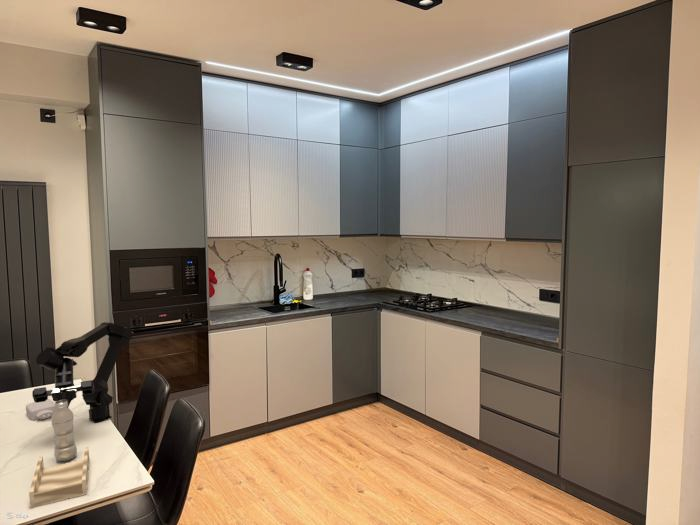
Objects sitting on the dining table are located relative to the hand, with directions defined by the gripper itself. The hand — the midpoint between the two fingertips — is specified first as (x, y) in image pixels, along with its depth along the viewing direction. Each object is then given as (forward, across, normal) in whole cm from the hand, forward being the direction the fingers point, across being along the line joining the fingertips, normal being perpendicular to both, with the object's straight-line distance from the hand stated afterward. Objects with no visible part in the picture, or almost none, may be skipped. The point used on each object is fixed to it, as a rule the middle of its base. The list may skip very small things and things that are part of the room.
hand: (64, 413), depth 173 cm
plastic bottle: (+15, 0, -4) cm, 15 cm away
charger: (-17, +11, -36) cm, 42 cm away
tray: (+26, 0, +8) cm, 27 cm away
